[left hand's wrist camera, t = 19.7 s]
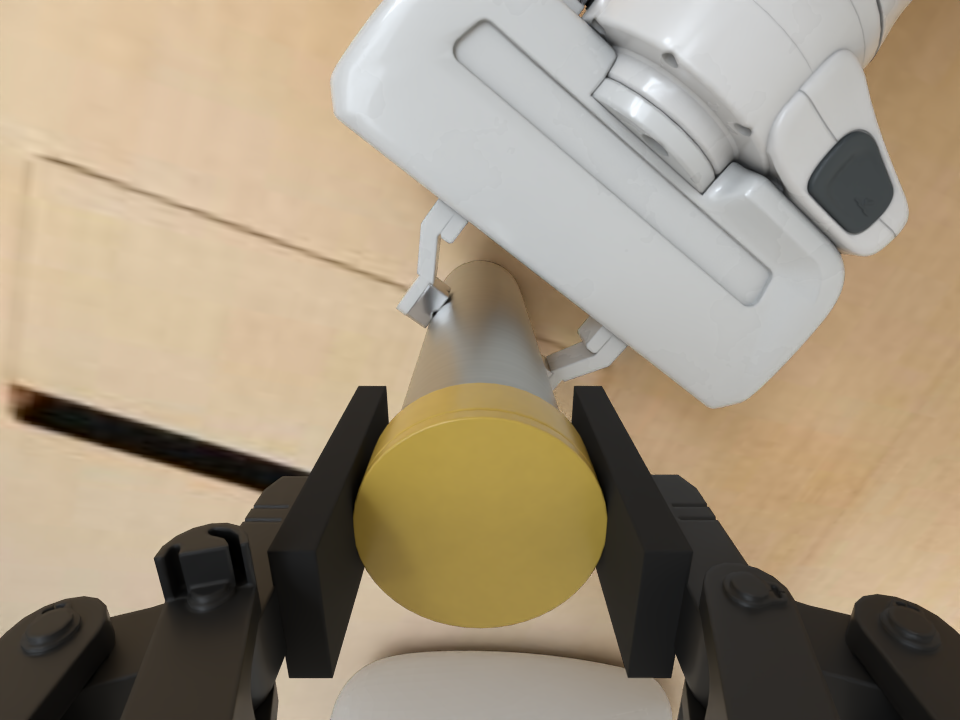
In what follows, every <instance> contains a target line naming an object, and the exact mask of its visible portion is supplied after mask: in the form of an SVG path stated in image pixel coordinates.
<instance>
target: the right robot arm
mask: <svg viewBox="0 0 960 720" xmlns="http://www.w3.org/2000/svg"><path fill="white" fill-rule="evenodd" d="M911 1H912V0H383V1H382V2H381V3H380V4H379V6H378V7H377V8H376V9H375V11H374V12H373V13H372V15H371V16H370V17H369V19H368V20H367V21H366V23H365V24H364V25H363V27H362V28H361V29H360V31H359V32H358V34H357V35H356V36H355V38H354V39H353V40H352V42H351V43H350V45H349V46H348V48H347V49H346V51H345V52H344V54H343V55H342V57H341V58H340V60H339V62H338V63H337V65H336V67H335V69H334V71H333V73H332V75H331V79H330V87H331V97H332V105H333V112H334V114H335V116H336V118H337V119H338V120H339V121H340V122H342V123H343V124H344V125H345V126H347V127H348V128H349V129H351V130H352V131H353V132H354V133H356V134H357V135H358V136H360V137H361V138H362V139H363V140H365V141H366V142H367V143H368V144H370V145H371V146H372V147H374V148H375V149H376V150H377V151H379V152H380V153H381V154H383V155H384V156H385V157H386V158H388V159H389V160H390V161H392V162H393V163H394V164H395V165H397V166H398V167H399V168H401V169H402V170H403V171H404V172H406V173H407V174H408V175H410V176H411V177H412V178H413V179H415V180H416V181H417V182H419V183H420V184H421V185H422V186H424V187H425V188H426V189H428V190H429V191H430V192H431V193H433V194H434V195H435V196H437V197H438V198H439V199H438V200H437V202H436V203H435V205H434V206H433V207H432V209H431V210H430V212H429V213H428V215H427V216H426V217H425V219H424V220H423V222H422V223H421V233H420V245H419V257H418V268H417V274H418V277H417V278H416V279H415V281H414V282H413V283H412V285H411V286H410V288H409V289H408V290H407V292H406V293H405V295H404V296H403V298H402V299H401V301H400V302H399V304H398V305H397V307H396V309H398V310H399V311H400V312H401V313H403V314H404V315H406V316H408V317H409V318H411V319H412V320H413V321H415V322H416V323H418V324H419V325H421V326H422V327H424V328H426V327H427V326H428V325H429V323H430V322H431V320H432V318H433V316H434V312H435V311H438V310H439V309H440V308H441V307H442V306H443V305H444V303H445V302H446V301H447V299H448V298H449V295H450V294H449V293H450V291H451V288H450V287H449V286H448V285H446V284H445V283H444V282H442V281H441V280H440V279H439V278H437V277H436V276H437V268H438V259H439V250H440V241H441V238H442V239H443V240H445V241H446V242H447V243H453V242H454V240H455V239H456V238H457V236H458V235H459V234H460V232H461V231H462V230H463V228H464V227H465V226H466V224H467V223H468V222H470V223H471V224H473V225H474V226H475V227H476V228H478V229H479V230H480V231H482V232H483V233H484V234H485V235H487V236H488V237H489V238H491V239H492V240H493V241H494V242H496V243H497V244H498V245H500V246H501V247H502V248H503V249H505V250H506V251H507V252H509V253H510V254H511V255H512V256H514V257H515V258H516V259H518V260H519V261H520V262H521V263H523V264H524V265H525V266H527V267H528V268H529V269H530V270H532V271H533V272H534V273H536V274H537V275H538V276H539V277H541V278H542V279H543V280H545V281H546V282H547V283H548V284H550V285H551V286H552V287H554V288H555V289H556V290H557V291H559V292H560V293H561V294H563V295H564V296H565V297H566V298H568V299H569V300H570V301H572V302H573V303H574V304H575V305H577V306H578V307H579V308H581V309H582V310H583V311H584V312H586V313H587V314H588V315H590V316H589V317H588V318H587V319H586V321H585V322H584V323H583V324H582V325H581V327H580V328H579V329H578V334H579V336H580V338H581V339H582V342H580V343H577V344H575V345H572V346H570V347H568V348H565V349H563V350H560V351H558V352H556V353H553V354H551V355H548V356H546V357H544V356H543V355H541V356H542V359H543V363H544V366H545V369H546V372H547V375H548V378H549V381H550V384H551V387H552V390H554V389H555V388H556V386H557V385H558V384H559V383H560V382H561V381H562V380H563V381H568V380H570V379H573V378H576V377H579V376H582V375H585V374H588V373H591V372H594V371H597V370H599V369H602V368H605V367H608V366H610V364H611V363H612V362H613V361H614V360H615V359H616V358H617V357H618V356H619V355H620V354H621V352H622V351H623V350H624V349H625V348H626V347H627V346H629V347H631V348H632V349H633V350H635V351H636V352H637V353H638V354H640V355H641V356H642V357H644V358H645V359H646V360H647V361H649V362H650V363H651V364H653V365H654V366H655V367H656V368H658V369H659V370H660V371H662V372H663V373H664V374H665V375H667V376H668V377H669V378H671V379H672V380H673V381H674V382H676V383H677V384H678V385H680V386H681V387H682V388H683V389H685V390H686V391H687V392H689V393H690V394H691V395H692V396H694V397H695V398H696V399H698V400H699V401H700V402H701V403H703V404H704V405H705V406H707V407H708V408H711V409H716V408H721V407H726V406H730V405H734V404H738V403H741V402H743V401H745V400H747V399H748V398H750V397H751V396H752V395H753V394H755V393H756V392H757V391H758V390H759V389H760V388H761V387H762V386H763V385H764V384H765V383H767V382H768V381H769V380H770V379H771V378H772V377H773V376H774V375H775V374H776V373H777V372H778V371H779V370H780V369H781V368H782V366H783V365H784V364H785V363H786V362H787V361H788V360H789V359H790V358H791V357H792V356H793V355H794V354H795V353H796V352H797V351H798V349H799V348H800V347H801V346H802V345H803V344H804V343H805V342H806V341H807V340H808V338H809V337H810V336H811V335H812V334H813V332H814V331H815V330H816V329H817V328H818V327H819V325H820V324H821V323H822V322H823V321H824V319H825V318H826V317H827V315H828V314H829V313H830V311H831V310H832V308H833V307H834V305H835V303H836V302H837V300H838V298H839V296H840V293H841V291H842V287H843V284H844V278H845V269H844V263H843V259H842V257H841V254H847V255H855V256H871V255H873V254H875V253H877V252H879V251H880V250H882V249H883V248H884V247H885V246H887V245H888V244H889V243H890V242H891V241H892V240H893V239H894V238H895V237H896V236H897V235H898V234H899V233H900V232H901V231H902V229H903V228H904V226H905V225H906V223H907V220H908V216H909V209H908V203H907V200H906V197H905V194H904V192H903V189H902V187H901V184H900V182H899V179H898V177H897V174H896V172H895V169H894V167H893V164H892V162H891V159H890V157H889V154H888V151H887V148H886V146H885V143H884V140H883V137H882V134H881V131H880V128H879V125H878V123H877V119H876V116H875V112H874V109H873V106H872V102H871V98H870V94H869V89H868V85H867V81H866V77H865V74H864V71H863V70H864V68H865V67H866V66H867V65H868V64H869V63H870V62H871V61H872V59H873V58H874V56H875V55H876V53H877V52H878V50H879V49H880V47H881V45H882V44H883V42H884V40H885V39H886V37H887V35H888V33H889V32H890V30H891V29H892V27H893V25H894V24H895V22H896V21H897V19H898V17H899V16H900V15H901V13H902V12H903V11H904V10H905V8H906V7H907V6H908V5H909V4H910V2H911ZM584 5H586V6H587V7H586V12H585V13H584V14H583V16H582V17H579V15H580V13H581V12H582V10H583V9H584Z"/></svg>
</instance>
